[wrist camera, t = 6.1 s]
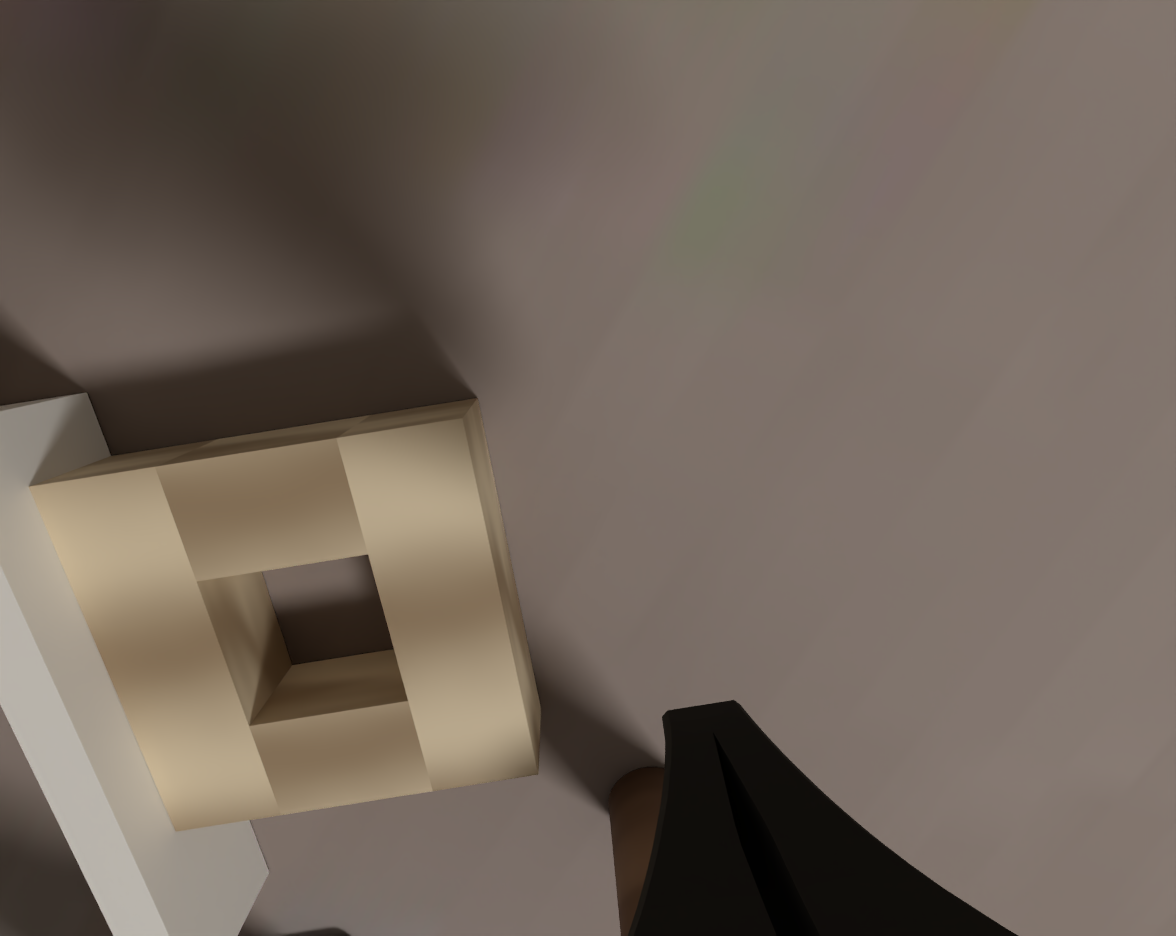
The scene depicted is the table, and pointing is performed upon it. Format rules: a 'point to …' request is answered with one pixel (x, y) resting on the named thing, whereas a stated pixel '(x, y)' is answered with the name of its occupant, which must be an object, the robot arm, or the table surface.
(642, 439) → the table surface
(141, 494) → the block
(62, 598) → the white rectangular slab
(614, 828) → the dowel
